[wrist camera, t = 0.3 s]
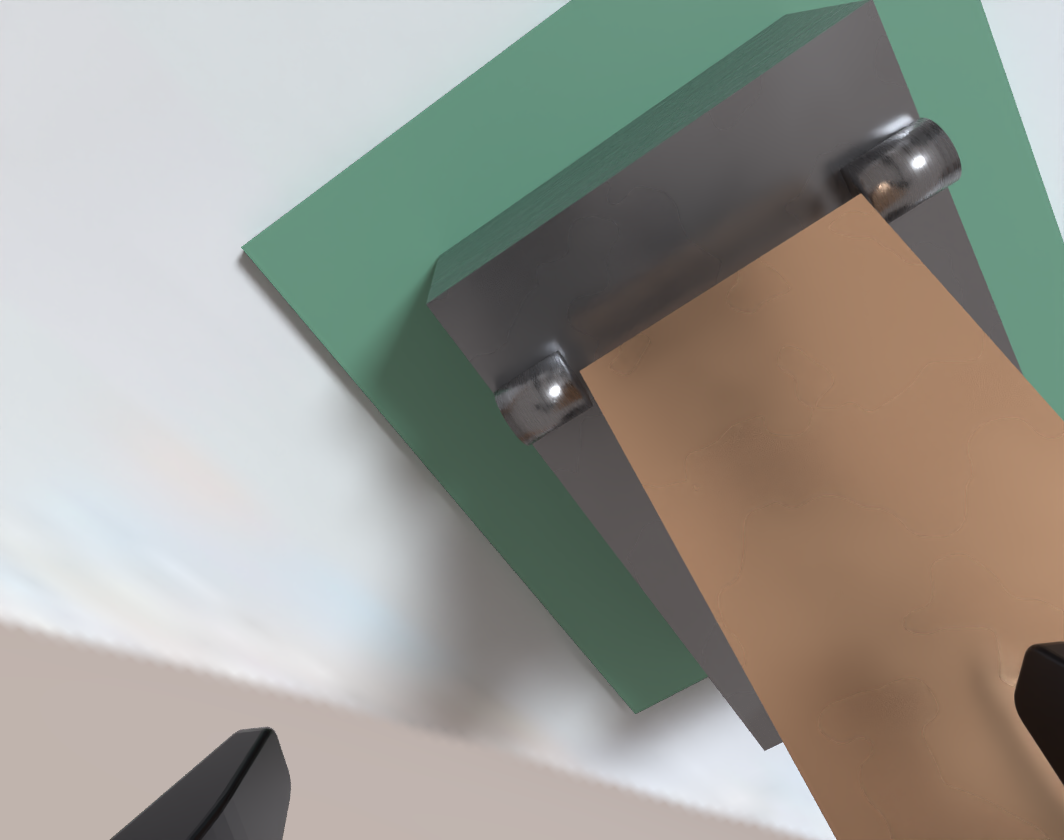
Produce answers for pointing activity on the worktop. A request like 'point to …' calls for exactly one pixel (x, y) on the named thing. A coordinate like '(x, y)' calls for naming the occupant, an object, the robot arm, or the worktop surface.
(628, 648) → the board
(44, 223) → the worktop surface
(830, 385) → the brown rectangular board
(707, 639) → the grey open box
